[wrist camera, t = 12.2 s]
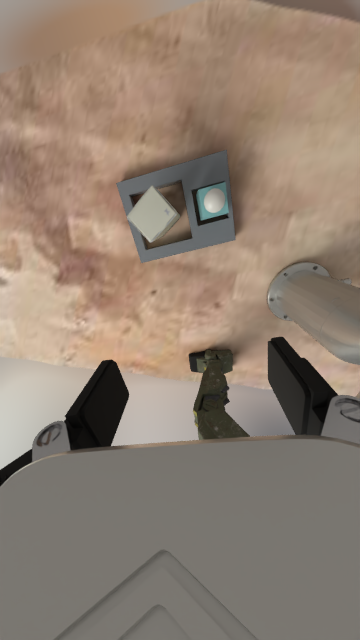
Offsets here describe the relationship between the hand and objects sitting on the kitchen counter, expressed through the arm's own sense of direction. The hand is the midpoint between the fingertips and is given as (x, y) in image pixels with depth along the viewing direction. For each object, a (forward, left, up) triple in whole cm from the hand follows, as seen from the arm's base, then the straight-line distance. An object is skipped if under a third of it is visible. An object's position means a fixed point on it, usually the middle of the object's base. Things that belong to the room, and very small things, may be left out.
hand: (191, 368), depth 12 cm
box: (+2, -10, -31) cm, 32 cm away
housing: (-1, -10, -30) cm, 32 cm away
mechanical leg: (-2, +24, -31) cm, 39 cm away
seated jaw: (-6, -10, -30) cm, 33 cm away
